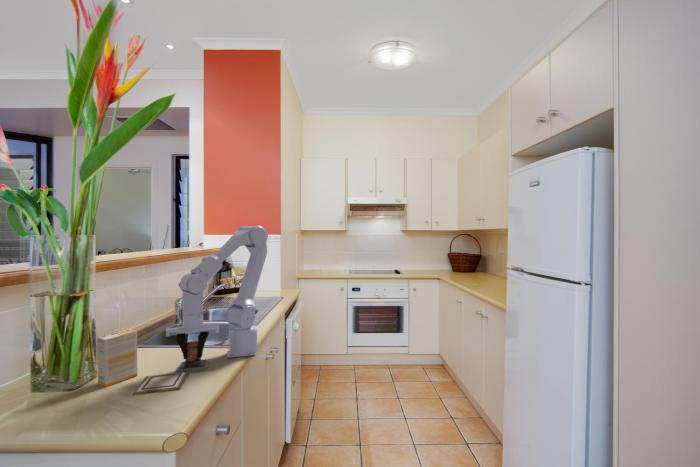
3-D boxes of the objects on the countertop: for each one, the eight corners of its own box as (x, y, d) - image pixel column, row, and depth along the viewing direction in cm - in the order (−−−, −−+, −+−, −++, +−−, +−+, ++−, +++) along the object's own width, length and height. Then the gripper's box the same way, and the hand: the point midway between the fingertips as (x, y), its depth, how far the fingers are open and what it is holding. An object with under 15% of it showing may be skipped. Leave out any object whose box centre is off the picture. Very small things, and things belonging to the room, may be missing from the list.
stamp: (200, 360, 101) (201, 339, 101) (199, 365, 97) (199, 343, 97) (186, 361, 100) (187, 340, 100) (184, 366, 96) (184, 345, 96)
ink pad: (209, 362, 102) (209, 358, 102) (205, 370, 96) (205, 365, 96) (181, 365, 100) (181, 361, 100) (176, 373, 94) (176, 368, 94)
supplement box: (129, 372, 95) (129, 328, 95) (138, 375, 93) (137, 330, 93) (96, 383, 88) (96, 336, 88) (105, 387, 86) (104, 339, 86)
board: (188, 373, 94) (188, 370, 94) (179, 389, 85) (179, 386, 85) (146, 377, 92) (146, 375, 92) (132, 395, 82) (132, 392, 82)
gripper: (162, 318, 93) (162, 365, 93) (216, 314, 96) (216, 359, 96) (169, 312, 99) (169, 356, 99) (219, 309, 103) (219, 351, 103)
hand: (193, 357), depth 98 cm, fingers closed on stamp, 3 cm apart
